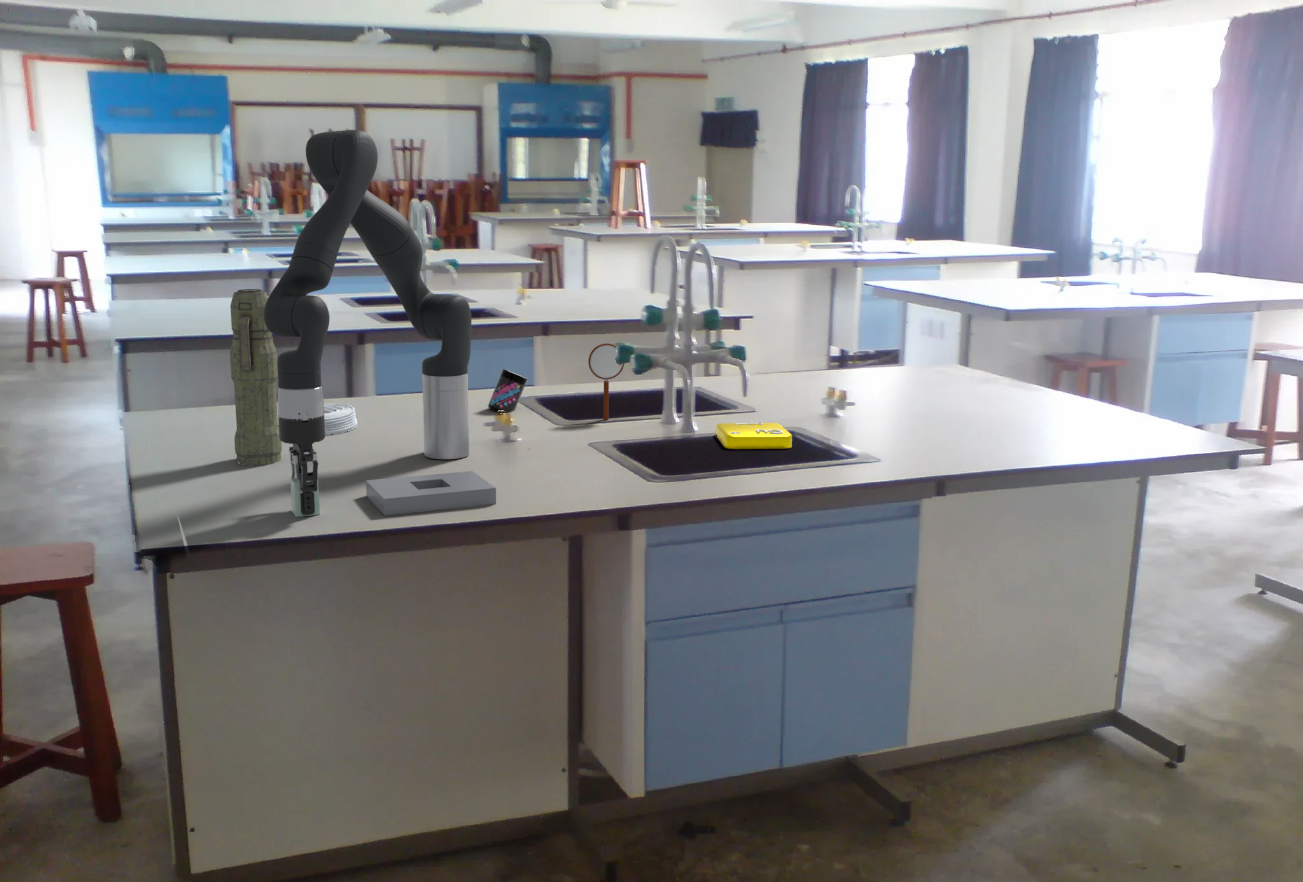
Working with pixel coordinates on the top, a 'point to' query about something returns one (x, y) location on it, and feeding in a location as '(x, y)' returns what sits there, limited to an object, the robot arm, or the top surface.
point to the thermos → (254, 380)
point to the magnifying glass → (604, 368)
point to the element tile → (753, 436)
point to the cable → (339, 418)
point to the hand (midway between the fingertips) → (305, 510)
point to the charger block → (297, 502)
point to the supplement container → (507, 391)
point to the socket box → (430, 492)
